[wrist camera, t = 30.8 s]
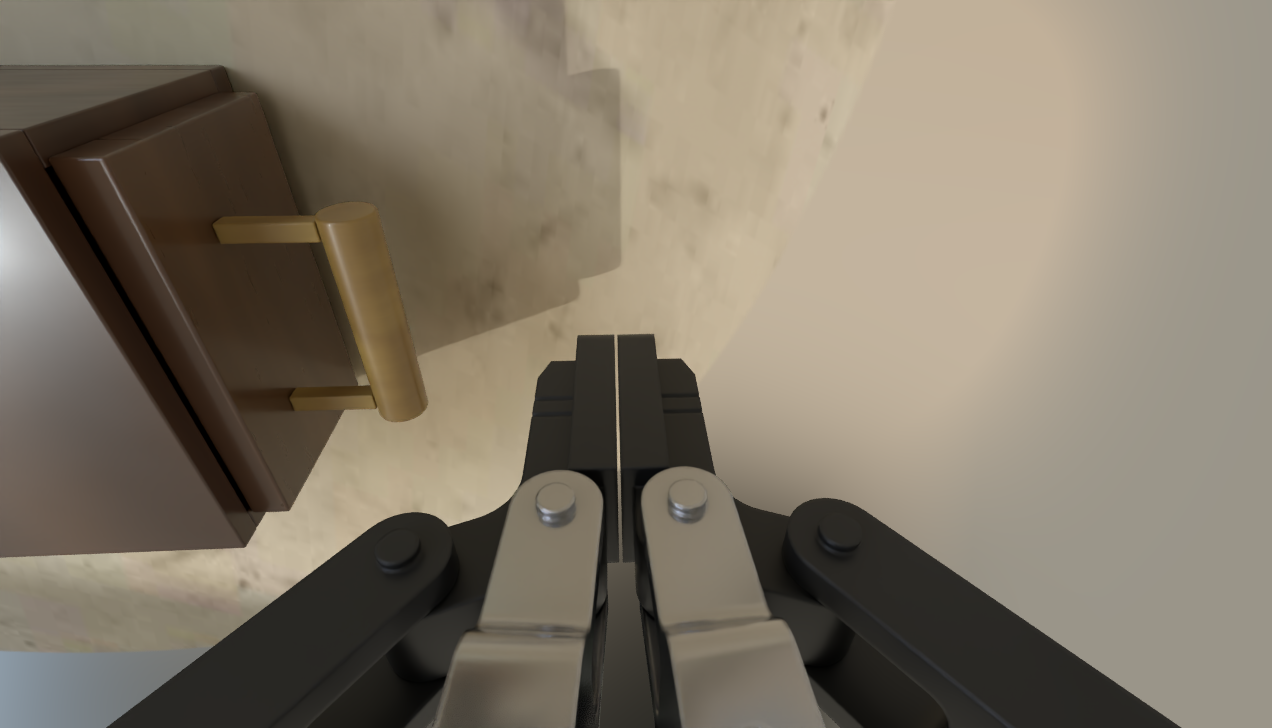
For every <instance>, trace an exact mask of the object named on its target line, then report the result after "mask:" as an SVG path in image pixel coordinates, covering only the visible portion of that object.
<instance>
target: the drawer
mask: <svg viewBox="0 0 1272 728" xmlns="http://www.w3.org/2000/svg"><path fill="white" fill-rule="evenodd" d="M49 162H50V164H51V165H52V166H50V167H47V168H45V170H46V172H47V173H48V175H49V177H50V178H51V180H52V182H53V183H54V185H55V187H56V189H57V190H58V192H59V194H60V195H61V197H62V199H63V200H64V202H65V204H66V206H67V207H68V209H69V211H70V212H71V214H72V216H73V217H74V219H75V221H76V222H77V224H78V226H79V228H80V229H81V231H82V233H83V234H84V236H85V238H86V239H87V241H88V243H89V245H90V246H91V248H92V250H93V251H94V253H95V255H96V256H97V258H98V260H99V261H100V263H101V265H102V267H103V268H104V270H105V272H106V273H107V275H108V277H109V278H110V280H111V282H112V284H113V285H114V287H115V289H116V290H117V292H118V294H119V295H120V297H121V299H122V300H123V302H124V304H125V306H126V307H127V309H128V311H129V312H130V314H131V316H132V317H133V319H134V321H135V323H136V324H137V326H138V328H139V329H140V331H141V333H142V334H143V336H144V338H145V339H146V341H147V343H148V345H149V346H150V348H151V350H152V351H153V353H154V355H155V356H156V358H157V360H158V362H159V363H160V365H161V367H162V368H163V370H164V372H165V373H166V375H167V377H168V378H169V380H170V382H171V384H172V385H173V387H174V389H175V390H176V392H177V394H178V395H179V397H180V399H181V400H182V402H183V404H184V406H185V407H186V409H187V411H188V412H189V414H190V416H191V417H192V419H193V421H194V423H195V424H196V426H197V428H198V429H199V431H200V433H201V434H202V436H203V438H204V439H205V441H206V443H207V445H208V446H209V448H210V450H211V451H212V453H213V455H214V456H215V458H216V460H217V462H218V463H219V465H220V467H221V468H222V470H223V469H224V468H225V466H226V467H227V468H228V470H229V472H230V474H231V475H232V477H233V479H234V480H235V482H236V484H237V486H238V487H239V489H240V491H241V492H242V494H243V496H244V498H245V499H246V501H247V503H248V504H249V506H250V508H251V510H252V511H253V512H281V511H289V510H290V509H291V507H292V505H293V504H294V502H295V500H296V498H297V496H298V494H299V493H300V491H301V489H302V487H303V485H304V483H305V482H306V480H307V478H308V476H309V474H310V472H311V471H312V469H313V467H314V465H315V463H316V461H317V459H318V458H319V456H320V454H321V452H322V450H323V448H324V447H325V445H326V443H327V441H328V439H329V437H330V436H331V434H332V432H333V430H334V428H335V426H336V425H337V423H338V421H339V419H340V417H341V415H342V414H343V412H344V410H350V409H376V408H377V407H378V410H379V413H380V415H381V416H382V417H383V418H384V419H385V420H387V421H391V422H404V421H408V420H411V419H414V418H416V417H417V416H419V415H420V414H422V413H423V412H424V411H425V410H426V408H427V405H428V398H427V394H426V390H425V386H424V383H423V379H422V375H421V371H420V368H419V364H418V360H417V356H416V352H415V349H414V345H413V341H412V337H411V333H410V330H409V326H408V322H407V318H406V314H405V311H404V307H403V303H402V299H401V296H400V292H399V288H398V284H397V280H396V277H395V273H394V269H393V265H392V261H391V258H390V254H389V250H388V246H387V242H386V239H385V235H384V231H383V227H382V224H381V220H380V216H379V212H378V209H377V207H376V206H375V205H373V204H371V203H367V202H344V203H338V204H334V205H330V206H328V207H325V208H323V209H321V210H319V211H318V212H317V213H316V214H315V215H310V216H299V213H298V210H297V207H296V205H295V202H294V199H293V196H292V193H291V190H290V187H289V184H288V182H287V179H286V176H285V173H284V170H283V167H282V164H281V162H280V159H279V156H278V153H277V150H276V147H275V144H274V141H273V139H272V136H271V133H270V130H269V127H268V124H267V121H266V119H265V116H264V113H263V110H262V107H261V104H260V101H259V98H258V96H257V94H256V93H254V92H218V93H215V94H213V95H210V96H208V97H205V98H202V99H200V100H197V101H195V102H192V103H190V104H187V105H184V106H182V107H179V108H177V109H174V110H171V111H169V112H166V113H164V114H161V115H158V116H156V117H153V118H151V119H148V120H145V121H143V122H140V123H138V124H135V125H132V126H130V127H127V128H125V129H122V130H119V131H117V132H114V133H112V134H109V135H107V136H104V137H101V138H99V139H96V140H94V141H91V142H88V143H86V144H83V145H81V146H78V147H75V148H73V149H70V150H68V151H65V152H62V153H60V154H57V155H55V156H52V157H50V158H49ZM321 241H322V242H323V245H324V248H325V251H326V254H327V257H328V260H329V263H330V266H331V269H332V272H333V275H334V278H335V281H336V284H337V287H338V290H339V293H340V296H341V299H342V302H343V305H344V308H345V311H346V314H347V317H348V320H349V323H350V326H351V329H352V332H353V335H354V338H355V341H356V344H357V347H358V350H359V353H360V356H361V359H362V362H363V365H364V368H365V371H366V374H367V377H368V380H369V383H370V385H367V386H358V382H357V379H356V377H355V374H354V371H353V368H352V365H351V362H350V359H349V356H348V354H347V351H346V348H345V345H344V342H343V339H342V336H341V334H340V331H339V328H338V325H337V322H336V319H335V316H334V313H333V311H332V308H331V305H330V302H329V299H328V296H327V293H326V291H325V288H324V285H323V282H322V279H321V276H320V273H319V270H318V268H317V265H316V262H315V259H314V256H313V253H312V250H311V248H310V245H309V243H313V242H321Z"/></svg>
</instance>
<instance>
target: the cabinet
mask: <svg viewBox="0 0 1272 728" xmlns="http://www.w3.org/2000/svg"><path fill="white" fill-rule="evenodd" d="M218 92H233V90H232V88H231V85H230V82H229V79H228V77H227V74H226V71H225V69H224V67H223V66H221V65H0V558H1V557H26V556H50V555H75V554H100V553H124V552H149V551H174V550H199V549H223V548H244V547H246V546H247V544H248V542H249V541H250V539H251V537H252V535H253V534H254V532H255V530H256V527H257V526H258V525H259V523H260V521H261V520H262V518H263V516H264V515H265V513H266V512H253V511H252V510H251V508H250V506H249V504H248V503H247V501H246V499H245V498H244V496H243V494H242V492H241V491H240V489H239V487H238V486H237V484H236V482H235V480H234V479H233V477H232V475H231V474H230V472H229V470H228V468H227V467H226V466H225V468H224V469H223V470H222V468H221V467H220V465H219V463H218V462H217V460H216V458H215V456H214V455H213V453H212V451H211V450H210V448H209V446H208V445H207V443H206V441H205V439H204V438H203V436H202V434H201V433H200V431H199V429H198V428H197V426H196V424H195V423H194V421H193V419H192V417H191V416H190V414H189V412H188V411H187V409H186V407H185V406H184V404H183V402H182V400H181V399H180V397H179V395H178V394H177V392H176V390H175V389H174V387H173V385H172V384H171V382H170V380H169V378H168V377H167V375H166V373H165V372H164V370H163V368H162V367H161V365H160V363H159V362H158V360H157V358H156V356H155V355H154V353H153V351H152V350H151V348H150V346H149V345H148V343H147V341H146V339H145V338H144V336H143V334H142V333H141V331H140V329H139V328H138V326H137V324H136V323H135V321H134V319H133V317H132V316H131V314H130V312H129V311H128V309H127V307H126V306H125V304H124V302H123V300H122V299H121V297H120V295H119V294H118V292H117V290H116V289H115V287H114V285H113V284H112V282H111V280H110V278H109V277H108V275H107V273H106V272H105V270H104V268H103V267H102V265H101V263H100V261H99V260H98V258H97V256H96V255H95V253H94V251H93V250H92V248H91V246H90V245H89V243H88V241H87V239H86V238H85V236H84V234H83V233H82V231H81V229H80V228H79V226H78V224H77V222H76V221H75V219H74V217H73V216H72V214H71V212H70V211H69V209H68V207H67V206H66V204H65V202H64V200H63V199H62V197H61V195H60V194H59V192H58V190H57V189H56V187H55V185H54V183H53V182H52V180H51V178H50V177H49V175H48V173H47V172H46V170H45V168H47V167H50V166H52V165H51V164H50V162H49V158H50V157H52V156H55V155H57V154H60V153H62V152H65V151H68V150H70V149H73V148H75V147H78V146H81V145H83V144H86V143H88V142H91V141H94V140H96V139H99V138H101V137H104V136H107V135H109V134H112V133H114V132H117V131H119V130H122V129H125V128H127V127H130V126H132V125H135V124H138V123H140V122H143V121H145V120H148V119H151V118H153V117H156V116H158V115H161V114H164V113H166V112H169V111H171V110H174V109H177V108H179V107H182V106H184V105H187V104H190V103H192V102H195V101H197V100H200V99H202V98H205V97H208V96H210V95H213V94H215V93H218Z"/></svg>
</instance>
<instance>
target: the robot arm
mask: <svg viewBox="0 0 1272 728" xmlns="http://www.w3.org/2000/svg"><path fill="white" fill-rule="evenodd" d="M618 384H619V429H620V467H621V506H622V545H623V562H635V580H636V592H637V596H638V599H639V601H640V613H641V620H642V628H643V636H644V644H645V651H646V659H647V666H648V674H649V682H650V690H651V697H652V705H653V712H654V721H655V728H826V727H825V725H824V721H823V719H822V716H821V713H820V710H819V707H820V708H821V709H822V710H823V711H824V712H825V713H826V714H827V715H828V716H829V717H830V718H831V719H832V720H833V721H834V722H835V723H837V725H838V726H840V728H1181V727H1179V726H1178V725H1177V724H1175V723H1174V722H1172V721H1171V720H1169V719H1168V718H1166V717H1165V716H1163V715H1162V714H1161V713H1159V712H1158V711H1156V710H1155V709H1153V708H1152V707H1150V706H1149V705H1147V704H1146V703H1145V702H1143V701H1141V700H1140V699H1139V698H1137V697H1136V696H1134V695H1133V694H1131V693H1130V692H1128V691H1127V690H1125V689H1124V688H1123V687H1121V686H1120V685H1118V684H1117V683H1115V682H1114V681H1112V680H1111V679H1110V678H1108V677H1107V676H1105V675H1104V674H1102V673H1101V672H1099V671H1098V670H1096V669H1095V668H1093V667H1092V666H1090V665H1089V664H1087V663H1086V662H1085V661H1083V660H1082V659H1080V658H1079V657H1077V656H1076V655H1075V654H1073V653H1072V652H1070V651H1069V650H1067V649H1066V648H1064V647H1063V646H1061V645H1060V644H1058V643H1057V642H1055V641H1054V640H1053V639H1051V638H1050V637H1048V636H1047V635H1045V634H1044V633H1042V632H1041V631H1040V630H1038V629H1036V628H1035V627H1034V626H1032V625H1030V624H1029V623H1028V622H1026V621H1025V620H1023V619H1022V618H1020V617H1019V616H1018V615H1016V614H1015V613H1013V612H1012V611H1010V610H1009V609H1007V608H1006V607H1005V606H1003V605H1002V604H1000V603H998V602H997V601H996V600H994V599H993V598H991V597H990V596H988V595H987V594H986V593H984V592H983V591H981V590H980V589H978V588H977V587H975V586H974V585H972V584H971V583H970V582H968V581H967V580H965V579H964V578H962V577H961V576H959V575H958V574H956V573H955V572H953V571H952V570H950V569H949V568H948V567H946V566H945V565H943V564H942V563H940V562H939V561H937V560H936V559H934V558H933V557H932V556H930V555H929V554H927V553H926V552H924V551H923V550H921V549H920V548H918V547H917V546H915V545H914V544H913V543H911V542H910V541H908V540H907V539H905V538H904V537H902V536H901V535H900V534H898V533H897V532H895V531H894V530H892V529H891V528H889V527H888V526H886V525H885V524H883V523H882V522H880V521H879V520H878V519H876V518H875V517H873V516H872V515H870V514H869V513H867V512H866V511H864V510H862V509H861V508H859V507H858V506H856V505H853V504H851V503H848V502H845V501H842V500H838V499H831V498H821V499H813V500H809V501H807V502H805V503H803V504H801V505H800V506H798V507H797V508H796V509H795V510H794V511H793V513H792V514H791V516H790V517H789V516H785V515H781V514H776V513H772V512H768V511H764V510H760V509H756V508H753V507H750V506H748V505H746V504H744V503H742V502H740V501H738V500H737V499H735V498H734V497H733V496H732V494H731V492H730V490H729V488H728V487H727V485H726V484H725V483H724V482H723V481H722V480H721V479H719V478H718V477H717V476H716V474H715V471H714V466H713V461H712V456H711V452H710V447H709V442H708V437H707V432H706V427H705V422H704V417H703V413H702V407H701V402H700V397H699V392H698V387H697V382H696V377H695V374H694V373H693V372H692V371H691V369H690V368H689V367H688V366H687V365H686V364H685V363H684V361H683V360H682V359H657V355H656V346H655V338H654V334H629V335H618ZM532 414H533V417H532V419H531V425H530V432H529V438H528V444H527V451H526V457H525V464H524V470H523V476H522V480H521V483H520V485H519V487H518V489H517V490H516V492H515V493H514V495H513V496H512V497H511V498H510V499H509V500H508V501H507V502H506V503H505V504H504V505H502V506H501V507H499V508H498V509H496V510H495V511H493V512H491V513H489V514H487V515H484V516H482V517H479V518H476V519H473V520H470V521H466V522H463V523H460V524H456V525H453V526H450V527H447V525H446V524H445V523H444V522H443V521H442V520H441V519H439V518H437V517H436V516H433V515H430V514H426V513H419V512H411V513H403V514H399V515H395V516H393V517H390V518H387V519H385V520H383V521H381V522H379V523H377V524H376V525H374V526H373V527H371V528H370V529H368V530H367V531H366V532H365V533H363V534H362V535H361V536H359V537H358V538H357V539H355V540H354V541H353V542H351V543H350V544H349V545H347V546H346V547H345V548H343V549H342V550H341V551H339V552H338V553H337V554H335V555H334V556H333V557H331V558H330V559H329V560H327V561H326V562H325V563H323V564H322V565H321V566H320V567H318V568H317V569H316V570H314V571H313V572H312V573H310V574H309V575H308V576H306V577H305V578H304V579H302V580H301V581H300V582H298V583H297V584H296V585H294V586H293V587H292V588H290V589H289V590H288V591H286V592H285V593H284V594H282V595H281V596H280V597H279V598H277V599H276V600H275V601H273V602H272V603H271V604H269V605H268V606H267V607H265V608H264V609H263V610H261V611H260V612H259V613H257V614H256V615H255V616H253V617H252V618H251V619H249V620H248V621H247V622H245V623H244V624H243V625H241V626H240V627H239V628H237V629H236V630H235V631H234V632H232V633H231V634H230V635H228V636H227V637H226V638H224V639H223V640H222V641H220V642H219V643H218V644H216V645H215V646H214V647H212V648H211V649H210V650H208V651H207V652H206V653H205V654H203V655H202V656H200V657H199V658H198V659H196V660H195V661H194V662H192V663H191V664H190V665H189V666H187V667H186V668H185V669H183V670H182V671H181V672H179V673H178V674H177V675H176V676H174V677H173V678H172V679H170V680H169V681H167V682H166V683H165V684H163V685H162V686H161V687H159V688H158V689H157V690H155V691H154V692H153V693H151V694H150V695H149V696H148V697H146V698H145V699H144V700H142V701H141V702H140V703H138V704H137V705H136V706H134V707H133V708H132V709H130V710H129V711H128V712H126V713H125V714H124V715H122V716H121V717H120V718H118V719H117V720H116V721H114V722H113V723H112V724H111V725H110V726H108V727H107V728H426V727H427V726H428V725H429V724H430V723H431V722H432V720H434V722H433V725H432V728H599V719H600V718H599V717H600V706H601V705H600V704H601V693H602V680H603V666H604V654H605V641H606V627H607V615H608V595H607V563H611V562H613V563H615V562H619V538H618V537H619V535H618V484H617V432H616V387H615V346H614V335H578V337H577V349H576V361H551V362H550V364H549V365H548V366H547V367H546V369H545V370H544V371H543V372H542V374H541V375H540V376H539V377H538V381H537V387H536V393H535V401H534V406H533V412H532ZM818 706H819V707H818Z"/></svg>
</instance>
